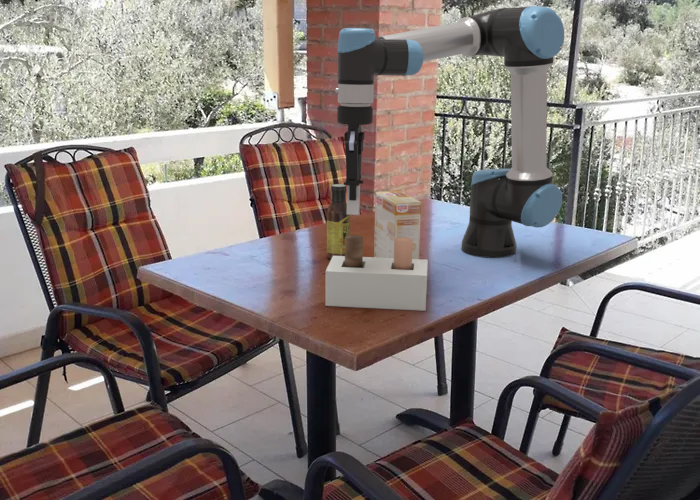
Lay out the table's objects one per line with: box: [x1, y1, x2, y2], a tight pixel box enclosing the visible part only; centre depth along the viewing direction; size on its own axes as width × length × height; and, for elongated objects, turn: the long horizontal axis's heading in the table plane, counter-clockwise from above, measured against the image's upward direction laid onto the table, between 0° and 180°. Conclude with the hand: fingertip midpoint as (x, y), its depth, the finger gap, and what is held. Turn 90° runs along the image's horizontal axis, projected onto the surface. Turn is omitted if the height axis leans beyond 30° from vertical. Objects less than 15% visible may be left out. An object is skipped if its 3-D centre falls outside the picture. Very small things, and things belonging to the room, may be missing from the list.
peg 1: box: [345, 234, 364, 268], centre depth 159 cm, size 4×4×8 cm
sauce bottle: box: [326, 183, 351, 260], centre depth 189 cm, size 7×6×20 cm
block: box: [324, 256, 429, 312], centre depth 160 cm, size 22×12×8 cm, turn 83°
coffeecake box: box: [373, 190, 422, 259], centre depth 178 cm, size 15×7×20 cm, turn 17°
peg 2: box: [394, 237, 413, 270], centre depth 158 cm, size 4×4×8 cm
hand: (353, 213), depth 156 cm, fingers closed
